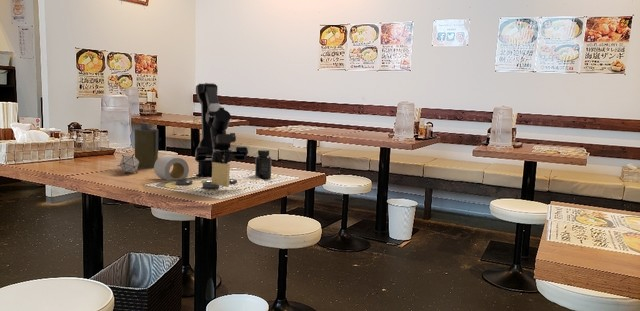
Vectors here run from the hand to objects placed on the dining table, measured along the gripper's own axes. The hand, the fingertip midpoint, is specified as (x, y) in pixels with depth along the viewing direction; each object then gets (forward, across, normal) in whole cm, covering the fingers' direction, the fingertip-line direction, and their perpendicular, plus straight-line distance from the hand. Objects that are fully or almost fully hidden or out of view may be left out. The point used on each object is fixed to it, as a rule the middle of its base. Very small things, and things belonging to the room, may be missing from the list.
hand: (224, 173), depth 176 cm
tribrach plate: (-2, -4, +13) cm, 14 cm away
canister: (-36, -23, +52) cm, 67 cm away
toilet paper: (-12, -16, +24) cm, 31 cm away
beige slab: (+4, -3, +5) cm, 6 cm away
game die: (-25, -30, +40) cm, 56 cm away
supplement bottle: (-12, +22, +25) cm, 36 cm away
